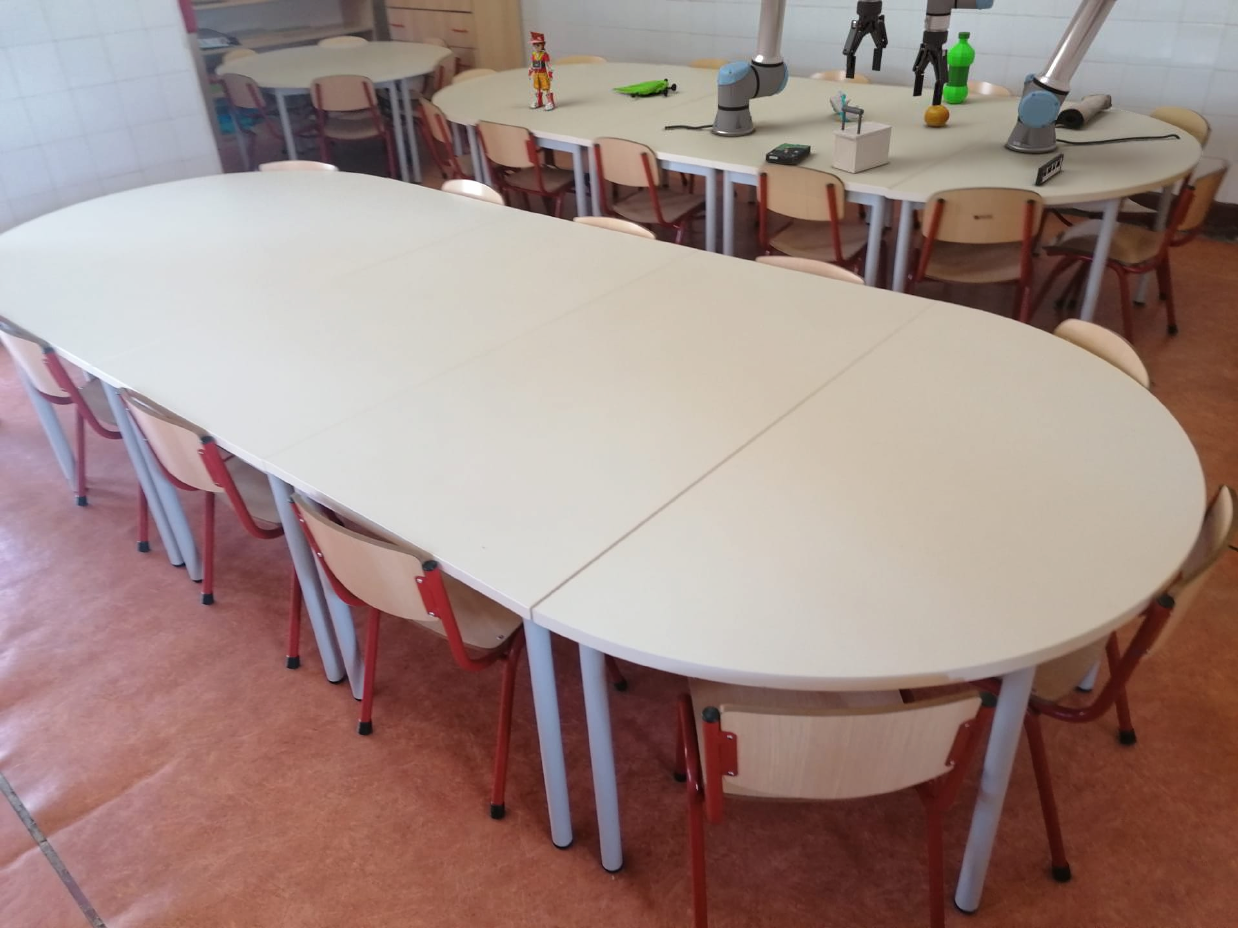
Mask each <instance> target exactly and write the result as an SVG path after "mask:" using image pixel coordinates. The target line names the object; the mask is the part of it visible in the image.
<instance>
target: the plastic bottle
mask: <svg viewBox="0 0 1238 928" xmlns="http://www.w3.org/2000/svg"><path fill="white" fill-rule="evenodd" d="M970 36H971V32H970V31H959V32H958V36H957V39H958V42H957V43H956V44H954V45H953V46H952V47H951V48H950V49H949V50H948V53H947V63H948V77H949V82H948V83H945V84H944V87H943V94H942V98H943V99H944V100H945V101H946V102H947V103H948V104H960V103H961V102H963V101H964V100H966V98H967V96H968V95H969V85H968V79H969V73H970V67H971V65H972V64H973V63H974V61H975V57H976V51H975V49H974V47H972V45H971V44H970V43H969V42H968V41H969V39H970V38H971V37H970Z"/></svg>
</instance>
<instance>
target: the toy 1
mask: <svg viewBox="0 0 1238 928" xmlns="http://www.w3.org/2000/svg"><path fill="white" fill-rule="evenodd" d="M529 33H530V35H531V36H528V37H527V38H528V39H529V40H528V41H527V43H529V44H530V43H531V44H532V48H533V50H534V51H533V52H532V55H531V58H530V59H531V63H530V66H528V74H527V75H528V76H527V77H528V79H529V80H531V75H532V74H533V84H532V85H533V86H532V87H533V88H534V89H535V90H536V92H534V95H535V97H536V100H535V101H533V102H531V105H530V108H531V109H535V108H538V107H542V106H544V101H543V100H544V99H543V95H544V92H546V94H545V97H546V99H547V103H546V104H545V106H544V110H546V111H549V110H553V109H554V107H555V106H556V105H555V99H554V92H551V91H550V90H551V86H552V84H551V82H552V81H553V80H554V77H553V73H554V71H555V70H554V69H552V68H551V63H550V61H551V59H550V58H551V57H550V54H549V53H548V52H547V50H546V48H545V46H546V44H547V41H545V35H544V33H543V32H542V33H539V32H535V31H529Z"/></svg>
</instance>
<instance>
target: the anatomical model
mask: <svg viewBox="0 0 1238 928" xmlns="http://www.w3.org/2000/svg"><path fill="white" fill-rule="evenodd" d="M846 98H847V95H846V93H844V92H843V91H842V90H839V91H838V93H837V95H834V96H831V97H829V103H830V106H831V107H832V110H833V112H834V113H837V114H839V115H840V117H841V119H842V116H843V111H842V106H843V105H846V106H849V103H850V101H851V100H852V99H851V98H850V99H846ZM853 107H855V108H860V105H854V106H853ZM863 118H864V117H863V115H862V119H863ZM858 119H859V115H857V114H853V113H848V112H846V116H845V122H850V121H852V120H858Z"/></svg>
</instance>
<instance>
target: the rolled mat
mask: <svg viewBox="0 0 1238 928" xmlns="http://www.w3.org/2000/svg"><path fill="white" fill-rule="evenodd" d="M1112 107H1113V103H1112V95H1110V94H1105V93H1096V94H1091V95H1085V96H1083V97H1082V98H1081V99H1080V100H1079V101H1078V102H1075V103H1074V104H1072V105H1070V106H1068V107H1067V108H1065V109H1063V110H1060V111H1059V114H1058V116H1057V118H1056V120H1055V127H1056V126H1058V125H1059V126H1060V125H1061V126H1064V127H1065V128H1066V129H1073V130H1079V129H1081V128H1082V127H1083V126H1084V125H1086V123H1088V121H1089V120H1090V119H1091V118H1092V117H1094V116H1095V115H1096V114H1097V113H1098V112H1100V111H1106V110H1109V109H1110V108H1112Z"/></svg>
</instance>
